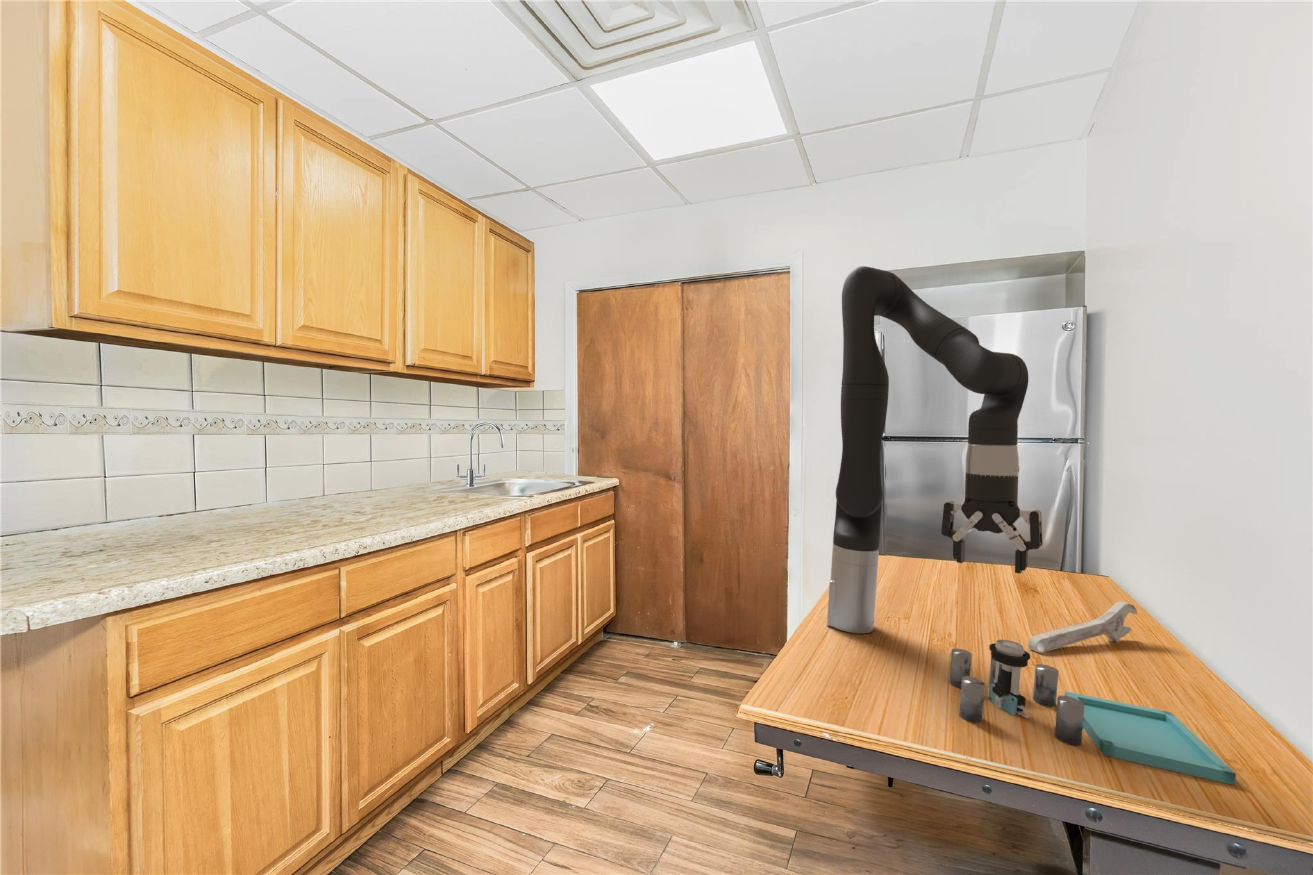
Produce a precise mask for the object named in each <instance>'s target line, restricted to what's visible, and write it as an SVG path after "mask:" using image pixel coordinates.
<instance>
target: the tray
mask: <svg viewBox="0 0 1313 875" xmlns="http://www.w3.org/2000/svg"><path fill="white" fill-rule="evenodd" d="M1064 696H1068V697H1072V698H1075V699H1077V700H1079V701H1081V702H1083V703H1084V705H1085V706H1084V718H1083V729H1084V730H1085V732H1086V733H1087V734H1088V736H1089V737H1090V738H1091V740H1092V742H1093V743H1094V744H1095V746H1096V747H1097V748H1098V751H1100V753H1101V754H1102V755H1103V756H1107V757H1111V758H1115V759H1119V760H1124V761H1128V762H1133V763H1137V764H1142V765H1146V766H1151V767H1154V768H1159V769H1163V770H1168V771H1172V772H1174V773H1175V772H1176V773H1181V774H1184V775H1189V776H1193V777H1197V778H1201V779H1206V780H1210V781H1214V782H1219V783H1222V784H1228V785H1233V786H1235V785H1236V776H1237V775H1236V772H1235V771H1234V770H1233V769H1231V768H1230V767H1229V765H1227V764H1226V762H1224V760H1222V759H1221V758H1220V757H1219V756H1218V755H1217V754H1216V753H1215V752H1214V751H1212V749H1211V748H1210V747H1208V746H1207V745H1206V744H1205V743H1204V742H1203V741H1202V740H1201V739H1200V738H1199V737H1198V736H1197V735H1196V734H1194V732H1192V730H1190V728H1188V727H1187V725H1185V724H1184V723H1183V722H1182V721H1181V720H1180V719H1179V718H1178V717H1177V716H1175V715H1174V713H1173V712H1169V711H1165V710H1160V709H1155V708H1151V707H1145V706H1141V705H1134V704H1132V703H1125V702H1120V701H1114V700H1110V699H1105V698H1099V697H1094V696H1091V695H1090V696H1089V695H1086V694H1085V695H1084V694H1081V693H1080V694H1079V693H1075V692H1070V691H1069V692H1068V691H1064Z"/></svg>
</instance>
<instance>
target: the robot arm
mask: <svg viewBox="0 0 1313 875" xmlns="http://www.w3.org/2000/svg"><path fill="white" fill-rule="evenodd" d="M841 314H842V316H841V317H842V331H843V332H842V336H843V342H842V343H843V344H842V345H843V346H842V347H843V348H842V351H843V352H842V378H841V386H840V387H841V388H840V390H841V391H840V425H841V426H840V428H841V440H842V451H841V459H840V460H841V461H840V468H839V473H838V479H837V484H836V488H835V498H836V502H835V503H836V504H835V519H834V528H833V533H832V534H833V537H832V538H833V539H832V552H831V553H832V554H831V566H830V569H831V570H830V579H829V584H828V585H829V587H828V588H829V589H828V602H827V618H826V619H827V620H826V626H828V627H833V628H834V629H836V630H840V631H843V632H847V633H851V634H868V633H871V632H873V631H874V625H875V624H874V623H875V615H876V614H875V612H876V596H877V586H878V585H877V584H878V582H877V581H878V568H879V556H880V555H879V554H880V553H879V552H880V541H881V521H882V520H881V519H882V507H883V498H884V491H883V487H882V486H883V485H882V474H881V472H882V471H881V451H882V450H881V449H882V448H881V447H882V441H883V436H884V432H885V426H886V420H887V413H888V404H889V389H890V381H889V373H888V368H887V366H886V364H885V360H884V358H883V356H882V354H881V351H880V349H879V346H878V342H877V339H876V335H875V334H876V333H875V317H878V316H879V317H882V318H885V319H887V320H889V321H892V322H894V323H896V324H898V325H899V326H901V327H902V328H903V329H905V330H906V332H907V333H908V335H909V336H910V338H911V340H912V341H913V342H914V343H915V345H917V347H918V348H920V349H921V350H922V351H924V352H925V353H926V354H928V355H929V356H930V357H932V358H933V359H934V360H936V361H937V362H938V363H939V364H942V365H943V366H944V367H945V368H946V370H947V371H948V372H949V374H950V375H951V376H952V377H953V378H954V379H955V381H957V383H959V384H960V385H961V386H962V387H964V388H965V389H967V390H969V391H970V392H972V393H975V394H980V395H983V399H982V404H981V406H980V408H979V409H977V410H974V411H972V412H971V413H970V414H969V418H968V427H967V429H968V430H967V431H968V432H967V437H968V438H967V451H966V454H965V474H964V475H965V477H964V478H965V480H964V501H963V503H957V502H955V501H953V500H950V501H947V502H945V503H944V504H943V511H942V521H941V535H942V536H943V537H947V538H949V539H951V540H952V545H953V546H952V556H953V559H954V560H956V563H958V564H963V563H964V562H965V556H966V554H965V553H966V551H965V550H966V540H964V538H965V537H966V536H967V535H969V533H970V532H971V531H973V530H974V529H975V530H976V531H978V532H989V533H993V534H1002V533H1004V534H1005V535H1006V537H1007V538H1008V539H1009V540H1010V541H1011V543H1012V544H1014V547H1016V550H1015V551H1014V552H1015V554H1014V556H1015V557H1014V573H1015V574H1022V573H1023V572H1024V571H1026V569H1027V568H1028V563H1029V562H1028V558H1029V556H1028V554H1029V551H1030V550H1038V549H1040V547H1042V546H1043V544H1044V543H1043V526H1042V525H1043V524H1042V523H1043V522H1042V512H1041V511H1040V510H1039V509H1034V510H1022V509H1020V507H1019V505H1018V502H1019V501H1018V498H1019V497H1018V496H1019V492H1018V491H1019V472H1020V465H1019V464H1020V458H1019V451H1018V433H1019V432H1018V431H1019V428H1018V426H1019V423H1018V421H1019V417H1020V415H1021V411H1022V408H1023V404H1024V401H1025V399H1026V395H1027V390H1028V386H1029V370H1028V367H1027V364H1026V363H1025V361H1024V359H1022V357H1020V356H1019V355H1017V354H1014V353H1009V352H1008V353H1007V352H998V351H992V350H990V349H987V348H986V347H984V346H982V345H981V344H980V340H979V338H978V335H976V334H975V333H973V332H972V331H971V330H969V329H967V328H966V327H965V326H963V325H961V323H958V322H957V321H955V320H954V319H952V318H950V317H949V316H947V315H945V314H943V313H942V312H941V311H939V310H937V309H935V308H934V307H933V306H931V305H930V304H928V303H927V302H926V301H924V300H923V299H922V298H920V296H919V295H918V294H916V293H915V292H914V291H913V290H912V289H911V288H910V286H908V285H907V284H906V283H905V281H903V280H902V279H901V278H900V277H899V276H898V275H897V274H895V273H893V272H892V271H889V270H884V269H880V268H875V267H871V266H863V265H862V266H857V267H855V268H853V269H852V270H851V271H850V272H849V273H848V274H847V276H846V278H845V280H844V282H843V286H842V291H841ZM960 511H961V512H962V513H963V515H964V516H965V518H966V519H967V520H966V521H965V523H964V524H962V525H961V527H960V528H958V530H955V529H954V525H955V524H954V523H955V516H956V515H958V514H959V512H960ZM1020 518H1022V519H1023V520H1024V522H1025V523H1026V524H1027V525H1029V539H1030V540H1027V539H1026V538H1025V537H1024V536H1023V535H1022V532H1021V531H1020V529H1019V528H1018V527H1017V526H1016V524H1015V523H1016V522H1017V521H1018V519H1020Z"/></svg>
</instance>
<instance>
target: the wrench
mask: <svg viewBox="0 0 1313 875" xmlns="http://www.w3.org/2000/svg"><path fill="white" fill-rule="evenodd" d="M1129 614H1134V615H1136V616H1137V615H1138V610H1137V608H1136V606H1135V605H1133V604H1132V603H1129V602H1126V601H1121V600H1120V601H1117V602H1115V603H1114V604H1113V605H1112V606H1111V607H1110V608H1109V609H1108V610H1106V611H1105V612H1104V613H1103V614H1101V615H1100V616H1099V617H1097V618H1096V619H1092V620H1088V621H1085V622H1082V623H1077V624H1074V625H1070V626H1066V627H1062V628H1059V629H1054V630H1050V631H1047V632H1042V633H1039V634H1036V635H1033V636H1031V637H1030V638H1029V639H1028V641H1027V642H1028V649H1030V650H1031V651H1033V652H1035V653H1037V654H1041V653H1047V652H1051V651H1053V650H1056V649H1059V648H1063V647H1067V646H1069V645H1073V644H1077V643H1080V642H1083V641H1087V640H1090V639H1093V638H1095V637H1100V636H1106V637H1107V638H1108V641H1109V642H1111V643H1113V642H1114V643H1117V644H1119V642H1120V638H1123V637H1126V636H1127V635H1128V634H1129V633H1130V632H1132V627H1131V626H1130V627H1129V626H1127V625H1124V622H1125V620H1126V617H1127V616H1128V615H1129Z"/></svg>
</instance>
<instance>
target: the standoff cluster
mask: <svg viewBox="0 0 1313 875" xmlns="http://www.w3.org/2000/svg"><path fill="white" fill-rule="evenodd" d="M950 650H951V652H950V653H951V654H950V664H949V667H950V668H949V676H948V677H949V681H948V683H949V684H951V686H953V687H955V688H958V689H960V696H959V697H960V699H959V714H958V716H959V717H960V718H962V719H963V720H965V721H967V722H970V723H973V724H979V723H982V722H983V716H984V705H985V704H984V702H985V691H986V683H985V682H984V680H981V679H979V678H977V677H974V676H971V673H972V671H971V670H972V669H971V668H972V659H973V654H972V653H971V652H970V651H968V650H966V649H961V648H957V647H956V648H955V647H954V648H952V649H950ZM1034 667H1035V668H1034V677H1033V678H1034V679H1033V681H1034V682H1033V690H1032V691H1033V692H1032V700H1033V702H1035V703H1036V704H1039V705H1041V706H1044V707H1047V708H1055V707H1056V715H1055V722H1054V723H1055V726H1054V737H1055V738H1056V739H1057V740H1059V741H1060V742H1062V743H1064V744H1067V745H1070V746H1074V747H1078V746H1081V745H1082V739H1083V738H1082V737H1083V729H1084V727H1083V718H1084V706H1085V705H1084V703H1083V702H1081V701H1079V700H1077V699H1075V698H1072V697H1068V696H1065V695H1058V694H1057V693H1058V686H1059V685H1058V682H1059V669H1057V668H1055V667H1054V666H1051V665H1048V664H1045V663H1043V664H1042V663H1036V664H1035V666H1034ZM995 674H996V661H995V660H994V659H993V658H992V657H991V656H990V666H989V676H988V678H989V679H988V686H989V685H990V684H995V683H994V680H995Z"/></svg>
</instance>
